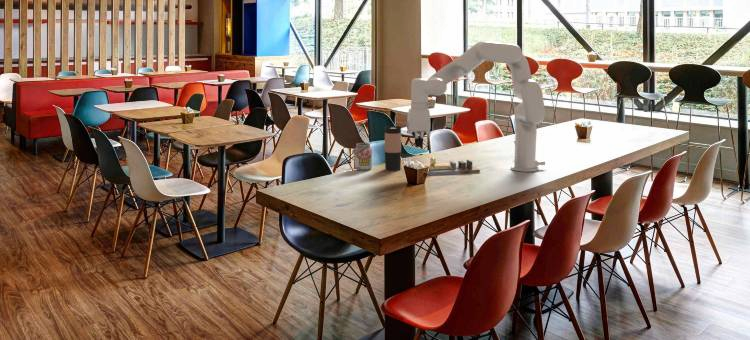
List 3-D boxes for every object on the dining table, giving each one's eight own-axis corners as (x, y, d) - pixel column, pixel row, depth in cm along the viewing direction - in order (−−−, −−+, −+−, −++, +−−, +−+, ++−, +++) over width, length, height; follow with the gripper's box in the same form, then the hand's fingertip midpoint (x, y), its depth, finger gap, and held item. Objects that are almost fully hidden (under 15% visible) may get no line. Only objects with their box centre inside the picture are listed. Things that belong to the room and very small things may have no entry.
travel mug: (381, 169, 322) (381, 127, 317) (394, 167, 326) (394, 125, 322) (391, 171, 316) (391, 129, 312) (404, 169, 320) (404, 127, 316)
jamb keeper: (458, 173, 310) (459, 163, 309) (452, 170, 319) (452, 159, 318) (479, 172, 312) (480, 162, 311) (473, 169, 321) (473, 158, 320)
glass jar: (354, 171, 317) (353, 146, 315) (351, 167, 325) (350, 143, 323) (373, 170, 319) (373, 145, 316) (370, 167, 327) (369, 142, 324)
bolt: (428, 169, 310) (428, 158, 309) (426, 168, 313) (427, 157, 312) (453, 168, 313) (453, 157, 312) (451, 167, 315) (452, 156, 314)
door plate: (429, 175, 308) (429, 165, 307) (423, 171, 316) (424, 161, 315) (458, 173, 310) (459, 163, 309) (452, 170, 319) (452, 160, 318)
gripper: (433, 105, 310) (431, 145, 314) (401, 105, 307) (400, 145, 311) (437, 107, 303) (436, 147, 306) (405, 107, 300) (404, 148, 303)
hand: (418, 146), depth 309 cm, fingers closed
